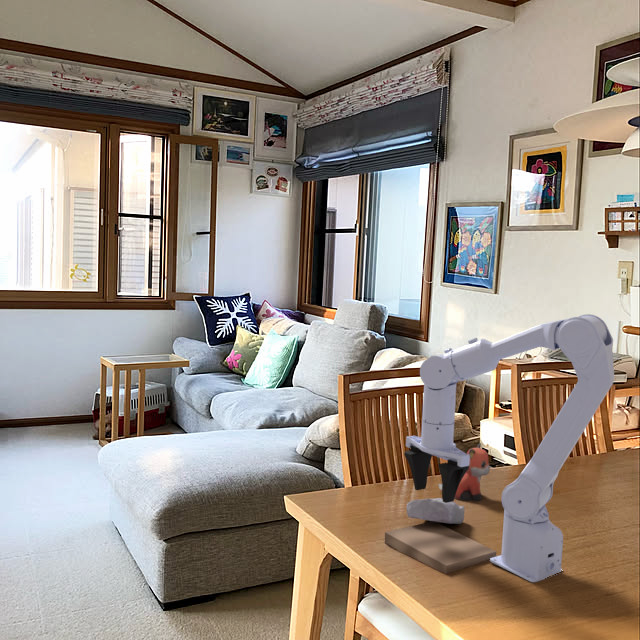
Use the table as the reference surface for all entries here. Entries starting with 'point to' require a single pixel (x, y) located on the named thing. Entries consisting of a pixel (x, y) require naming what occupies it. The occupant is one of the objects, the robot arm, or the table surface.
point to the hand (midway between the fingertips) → (433, 495)
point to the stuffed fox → (473, 475)
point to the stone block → (435, 510)
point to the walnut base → (438, 546)
